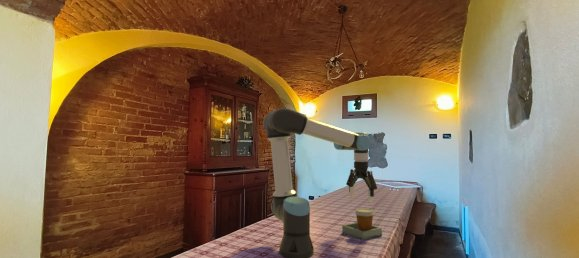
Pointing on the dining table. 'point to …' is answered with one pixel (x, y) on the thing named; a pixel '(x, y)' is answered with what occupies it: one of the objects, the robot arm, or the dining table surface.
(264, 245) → the dining table surface
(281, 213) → the robot arm
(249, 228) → the dining table surface
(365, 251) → the dining table surface
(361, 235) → the bin
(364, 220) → the disposable coffee cup
